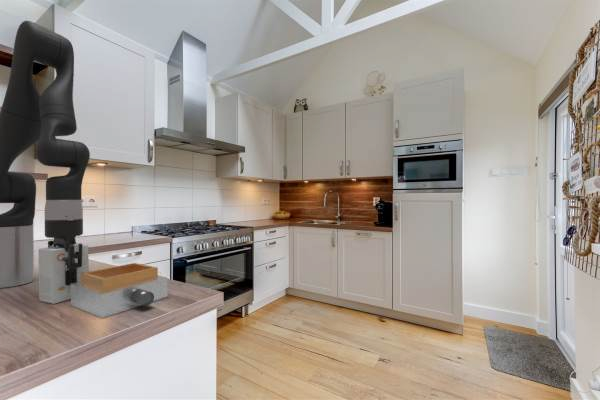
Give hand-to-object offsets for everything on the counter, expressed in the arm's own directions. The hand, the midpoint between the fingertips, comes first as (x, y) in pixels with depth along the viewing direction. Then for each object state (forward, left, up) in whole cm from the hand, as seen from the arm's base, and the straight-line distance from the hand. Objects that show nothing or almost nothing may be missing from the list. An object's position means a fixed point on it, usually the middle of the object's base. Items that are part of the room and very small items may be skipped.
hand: (64, 282), depth 72 cm
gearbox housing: (+17, +6, -4) cm, 18 cm away
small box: (0, 0, -4) cm, 4 cm away
